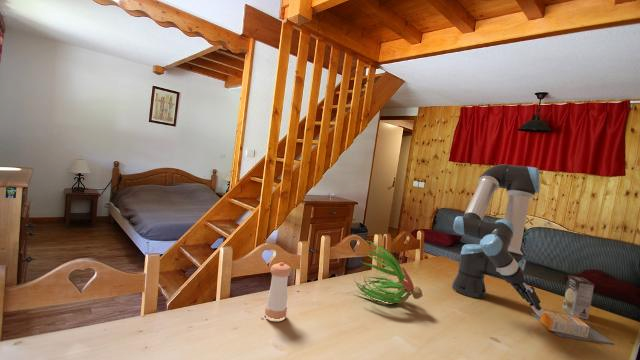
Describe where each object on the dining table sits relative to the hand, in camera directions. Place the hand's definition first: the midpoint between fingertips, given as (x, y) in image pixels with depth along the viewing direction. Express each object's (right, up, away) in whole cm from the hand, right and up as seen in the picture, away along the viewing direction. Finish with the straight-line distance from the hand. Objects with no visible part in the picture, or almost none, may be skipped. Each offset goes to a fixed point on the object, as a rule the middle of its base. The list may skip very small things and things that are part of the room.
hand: (541, 313), depth 129 cm
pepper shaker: (-103, +6, -18) cm, 105 cm away
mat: (+12, -6, +2) cm, 14 cm away
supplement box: (+1, -2, 0) cm, 2 cm away
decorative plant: (-62, +3, +6) cm, 62 cm away
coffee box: (+27, -8, +18) cm, 33 cm away
